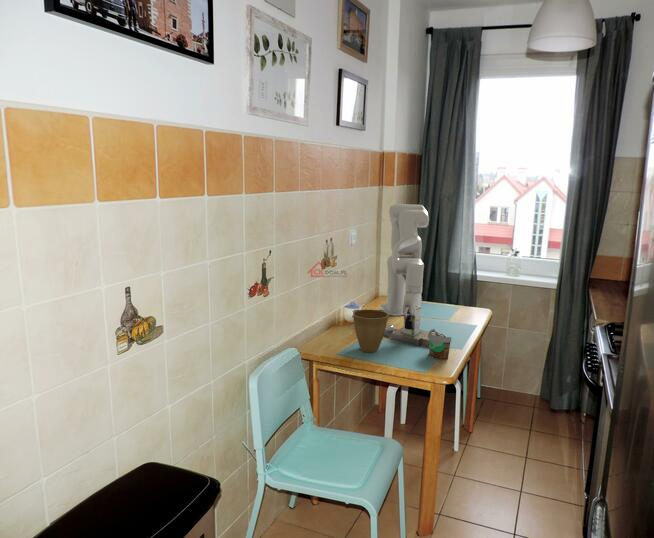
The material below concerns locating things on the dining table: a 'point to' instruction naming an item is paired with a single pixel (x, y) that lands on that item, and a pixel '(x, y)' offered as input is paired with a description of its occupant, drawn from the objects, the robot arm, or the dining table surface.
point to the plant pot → (370, 328)
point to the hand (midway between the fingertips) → (411, 326)
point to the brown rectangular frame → (413, 337)
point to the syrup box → (414, 323)
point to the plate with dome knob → (390, 330)
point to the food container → (438, 345)
